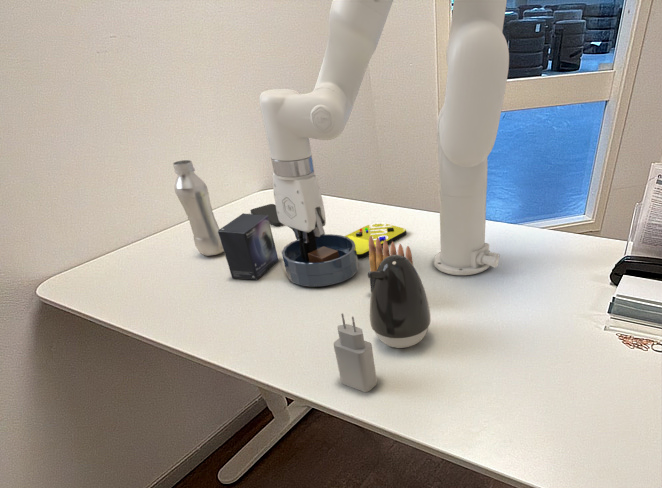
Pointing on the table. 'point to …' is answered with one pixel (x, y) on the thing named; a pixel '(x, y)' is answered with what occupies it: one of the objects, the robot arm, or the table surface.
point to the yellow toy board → (375, 236)
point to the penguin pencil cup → (398, 303)
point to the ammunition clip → (383, 254)
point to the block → (323, 255)
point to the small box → (248, 246)
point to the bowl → (321, 271)
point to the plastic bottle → (197, 208)
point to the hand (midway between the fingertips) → (310, 257)
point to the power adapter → (354, 358)
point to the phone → (268, 213)
